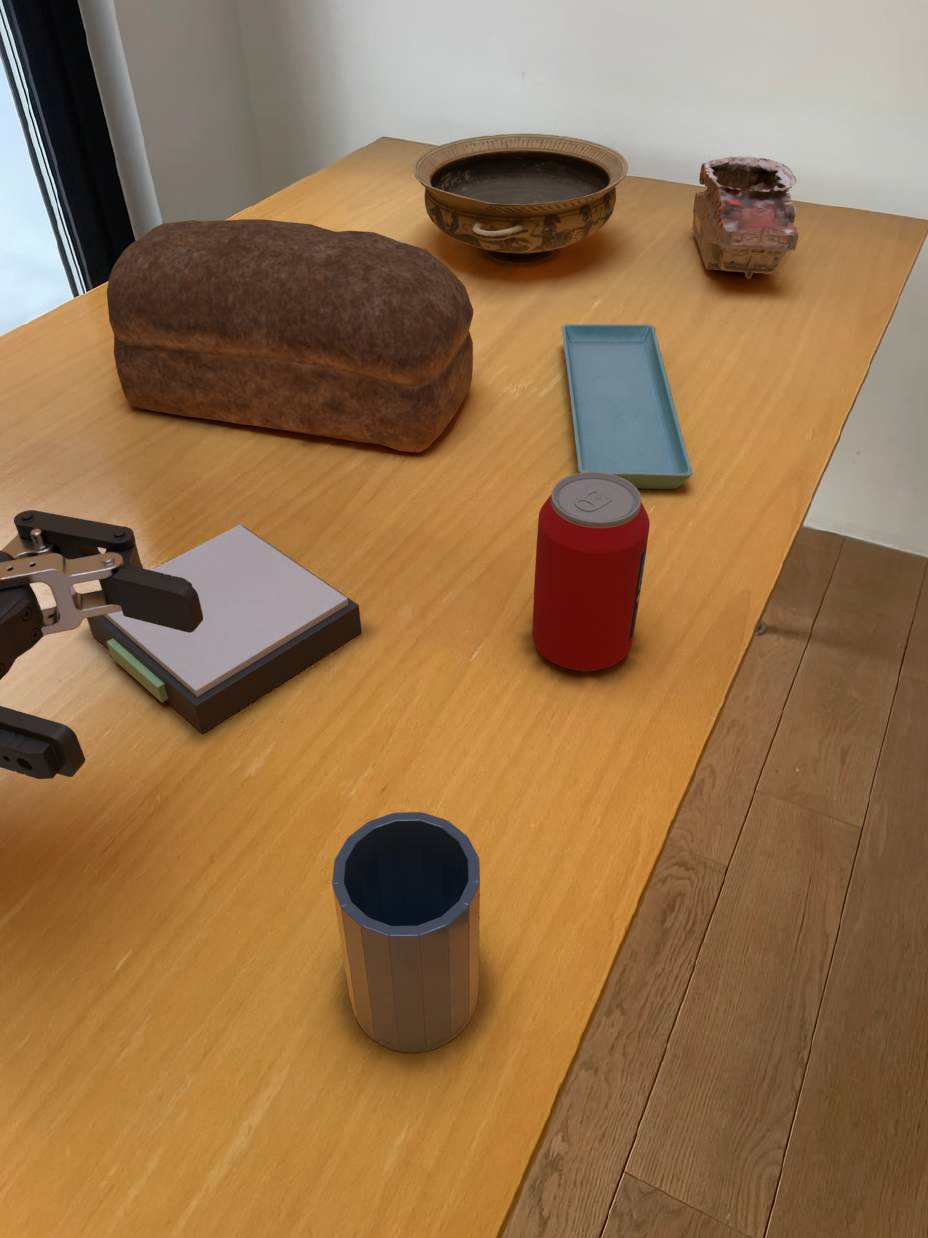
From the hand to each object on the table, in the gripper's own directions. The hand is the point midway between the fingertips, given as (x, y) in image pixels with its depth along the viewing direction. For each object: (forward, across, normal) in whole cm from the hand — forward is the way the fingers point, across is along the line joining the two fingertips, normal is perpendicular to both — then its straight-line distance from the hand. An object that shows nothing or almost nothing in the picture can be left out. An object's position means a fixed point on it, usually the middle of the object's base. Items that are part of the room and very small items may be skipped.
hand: (140, 676), depth 40 cm
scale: (-10, +20, +18) cm, 29 cm away
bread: (-20, +51, +18) cm, 58 cm away
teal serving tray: (+8, +58, +18) cm, 61 cm away
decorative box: (+14, +95, +18) cm, 98 cm away
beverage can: (+12, +27, +18) cm, 35 cm away
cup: (+11, 0, +18) cm, 21 cm away
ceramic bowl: (-12, +91, +18) cm, 94 cm away
